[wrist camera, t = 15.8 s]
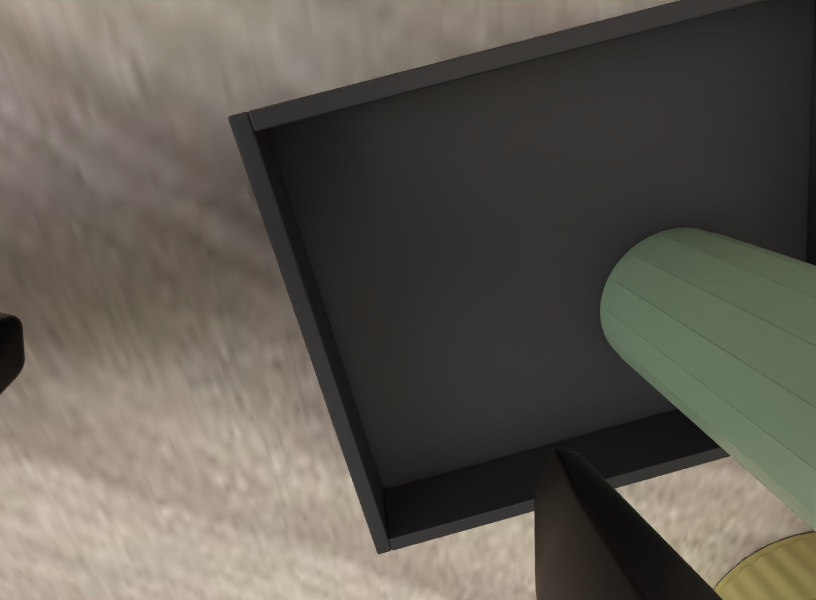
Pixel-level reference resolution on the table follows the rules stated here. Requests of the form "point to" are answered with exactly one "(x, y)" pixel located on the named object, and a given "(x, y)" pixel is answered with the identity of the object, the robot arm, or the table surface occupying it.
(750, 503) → the table surface
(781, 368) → the bottle
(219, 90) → the table surface
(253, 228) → the table surface
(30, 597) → the table surface
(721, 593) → the potted cactus
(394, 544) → the tray
